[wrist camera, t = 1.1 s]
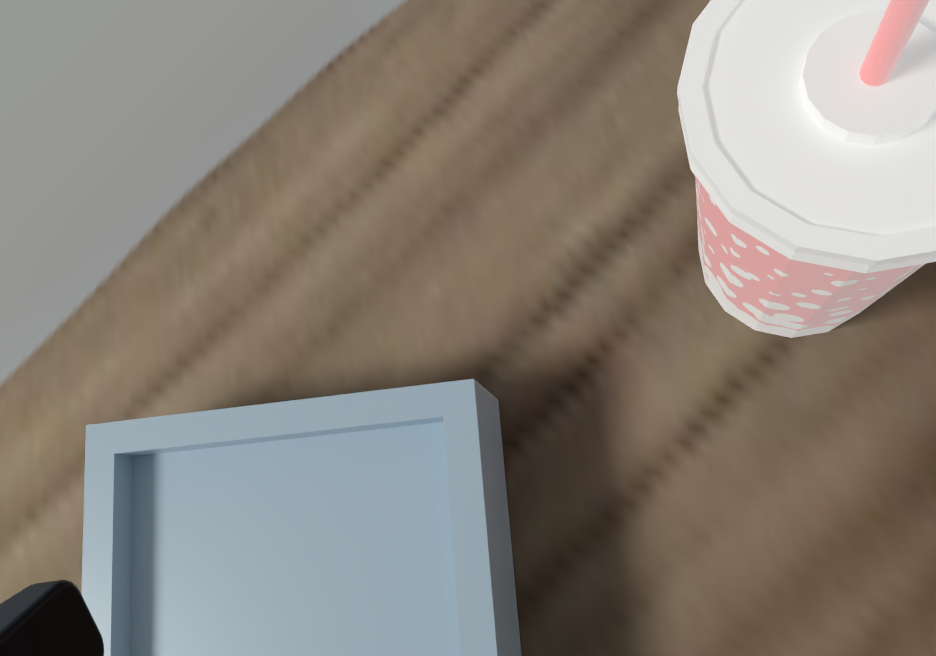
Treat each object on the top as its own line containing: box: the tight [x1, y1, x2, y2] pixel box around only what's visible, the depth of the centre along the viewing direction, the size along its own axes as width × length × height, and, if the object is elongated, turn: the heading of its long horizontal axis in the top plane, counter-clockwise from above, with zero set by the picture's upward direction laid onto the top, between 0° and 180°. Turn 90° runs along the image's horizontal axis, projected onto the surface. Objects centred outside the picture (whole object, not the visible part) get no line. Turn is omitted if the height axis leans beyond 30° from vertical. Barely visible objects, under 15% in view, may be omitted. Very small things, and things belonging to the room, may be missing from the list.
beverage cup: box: [677, 0, 936, 338], centre depth 16 cm, size 6×6×14 cm
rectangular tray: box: [82, 379, 522, 656], centre depth 21 cm, size 10×10×3 cm
